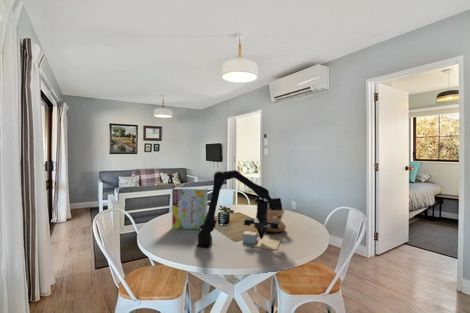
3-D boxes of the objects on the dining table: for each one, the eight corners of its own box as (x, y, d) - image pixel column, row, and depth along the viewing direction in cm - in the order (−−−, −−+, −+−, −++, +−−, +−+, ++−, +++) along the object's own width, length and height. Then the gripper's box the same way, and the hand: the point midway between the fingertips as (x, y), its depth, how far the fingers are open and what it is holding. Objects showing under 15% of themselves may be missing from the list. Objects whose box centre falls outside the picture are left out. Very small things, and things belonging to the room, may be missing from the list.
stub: (242, 242, 134) (242, 233, 134) (245, 239, 139) (245, 231, 139) (255, 243, 132) (255, 235, 132) (257, 240, 136) (257, 232, 136)
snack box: (207, 226, 161) (208, 187, 161) (204, 230, 153) (205, 189, 152) (176, 224, 164) (176, 186, 163) (171, 228, 155) (171, 188, 154)
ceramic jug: (286, 236, 145) (287, 212, 145) (262, 234, 147) (262, 210, 147) (284, 227, 163) (285, 205, 163) (262, 225, 165) (263, 204, 165)
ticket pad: (253, 246, 128) (253, 245, 128) (259, 238, 140) (259, 237, 140) (276, 250, 124) (276, 248, 124) (280, 241, 136) (280, 240, 136)
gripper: (241, 212, 128) (240, 241, 129) (276, 216, 122) (275, 246, 122) (247, 207, 139) (246, 234, 139) (280, 211, 132) (279, 239, 133)
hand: (261, 238), depth 133 cm, fingers closed
